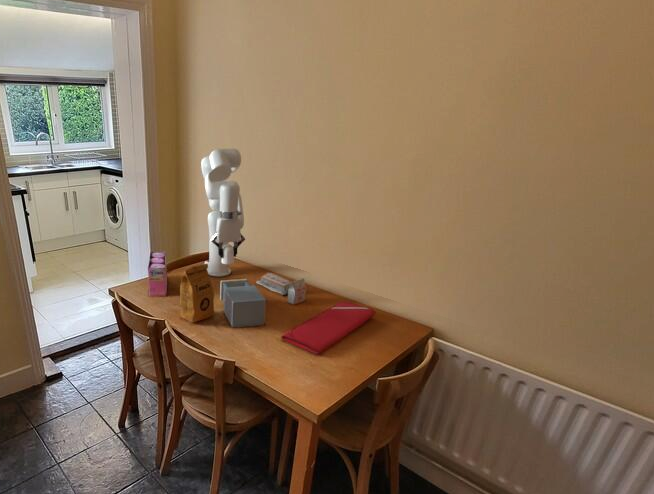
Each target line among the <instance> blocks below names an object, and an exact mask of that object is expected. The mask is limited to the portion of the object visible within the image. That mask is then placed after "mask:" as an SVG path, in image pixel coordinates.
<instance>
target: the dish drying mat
mask: <svg viewBox="0 0 654 494" xmlns="http://www.w3.org/2000/svg"><path fill="white" fill-rule="evenodd" d="M376 313H377V312H376V310H374V309H373V308H369V307H367V306H364V305H361V304H358V303H355V302H349V301H348V302H347V301H341V302H338V303H336V304H333V306H331V307H329V308H328V309H326V310H324V311H322V312H320V313H318V314H316V315H315V316H313V317H311V318H309V319H307V320H306V321H304V322H302V323H300V324H298V325H296V326H294V327H293V328H291V329H290V331H287V332H285V333H284V334H283V335H281V339H282V341H284V342H286V343H288V344H290V345H292V346H295V347H298V348H300V349H303V350H305V351H307V352H309V353H311V354H314V355H319V354H321V353H322V352H324V351H325V350H327V349H328V348H330V347H331V346H333V345H334V344H336V343H337V342H339V341H341V340H342V339H343V338H344V337H346V336H348V335H349V334H350V333H352V332H354V331H355V330H356V329H358V328H359V327H361V326H362V325H363V324H364V323H366V322H367V321H369V320H370V319H371V318H372V317H373V316H374V315H376Z"/></svg>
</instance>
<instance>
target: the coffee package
mask: <svg viewBox="0 0 654 494" xmlns="http://www.w3.org/2000/svg"><path fill="white" fill-rule="evenodd" d="M207 269H208V264H207V263H206V264H204V263H203V264H199V265H193V266H191V267H189V268H185V269H184V272H183V274H182V277H181V280H180V286H179V297H180V299H179V300H180V302H179V303H180V304H179V305H180V318H181V319H183V320H186V321H187V322H188V323H193V324H194V323H197V322H199V321H202V320H206V319H208V318H211V317H214V314H215V303H214V300H215V292H214V285H213V283H212V280H211V278H210V275H209V274H208V271H207Z"/></svg>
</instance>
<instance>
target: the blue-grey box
mask: <svg viewBox="0 0 654 494" xmlns="http://www.w3.org/2000/svg"><path fill="white" fill-rule="evenodd" d="M266 303H267V300H266V298H265V297H264V296H263V294H262V293H261V292H260V290H259V289H258V288H257V287H256V285H249V286H239V287H225V288H224V302H223V313H224V314H225V316H226V318H227V320H228V322H229V324H230V326H231V328H244V327H254V326H255V327H256V326H265V319H266V317H265V315H266Z"/></svg>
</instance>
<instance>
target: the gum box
mask: <svg viewBox="0 0 654 494" xmlns="http://www.w3.org/2000/svg"><path fill="white" fill-rule="evenodd" d="M167 267H168V265H167V252H166V251H162V252H153V251H150V253H149V260H148V266H147V276H148V277H147V278H148V295H149V297H163V296H164V297H165V296H167V292H168V291H167V290H168V289H167V288H168V268H167Z"/></svg>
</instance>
